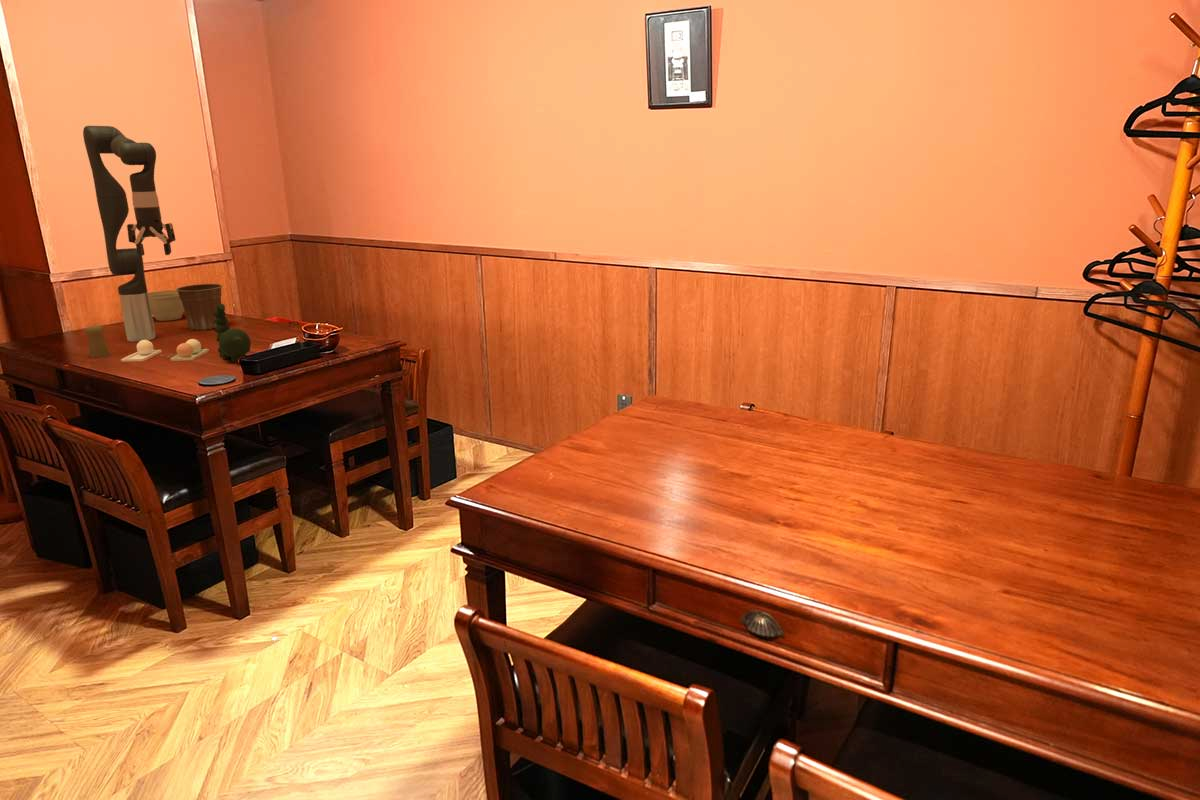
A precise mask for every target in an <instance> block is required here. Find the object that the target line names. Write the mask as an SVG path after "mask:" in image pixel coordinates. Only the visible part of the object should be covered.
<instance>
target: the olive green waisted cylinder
mask: <svg viewBox="0 0 1200 800" xmlns="http://www.w3.org/2000/svg"><path fill="white" fill-rule="evenodd" d="M104 332H105V329H104V327H103V326H102V325H100V324H94V325H93V324H92V325H88V326H87V327H86V328H85V334H86V335H87V336H88V351H89V353H88V354H89V358H90V359H101V358H102V359H103V358H108V357H109V356H110V355H111V354H110V352H109V349H108V346H107V342H106V340H105V338H104V335H103V334H104Z"/></svg>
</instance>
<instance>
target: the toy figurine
mask: <svg viewBox="0 0 1200 800" xmlns="http://www.w3.org/2000/svg"><path fill="white" fill-rule="evenodd" d="M216 309H217V310H216V311H215V312H214V313H213V315H214V316H215V317H216V318H215V319H214V320H213V322H214V323H215V324H216V325H217V326H216V328H215V329H213V331H214V332H215V333H217V334H216V342H218V348H217V352H218V353H219V357H220V358H221V359H223V360H226V361H227V360H228V359H229V358H230V359H231V362H232V363H236V364H240V363H239V362H238V359H239V358H240V357H243V356H245V357H246V355H247V353H249V352H250V351H251V347H252V342H251V341H252V340H251V337H250V336H249V334H247V332H246V331H244V330H242V329H240V328H231V327H230V326H229V324H228V318H227V316H226V307H225V304H224V303H222V302H221V303H220V304H218V305H217V307H216Z"/></svg>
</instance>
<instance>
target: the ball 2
mask: <svg viewBox="0 0 1200 800" xmlns="http://www.w3.org/2000/svg"><path fill="white" fill-rule="evenodd" d="M175 350H176V355H179V356H180V357H182V358H188V357H190V356H191V355H192V354H193V348H192V346H191V345H190V344H188V343H186V342H182V343H179V345H177V347H176V349H175Z"/></svg>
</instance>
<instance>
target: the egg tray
mask: <svg viewBox="0 0 1200 800" xmlns="http://www.w3.org/2000/svg"><path fill="white" fill-rule="evenodd" d="M160 353H162V349H153V351H152V352H151V353H150V354H147V355H144V354H141V353H139V352H138V351H137V352H136V351H135V352H134V353H132V354H129V355H127V356H125V357H123V358H121V359H120V362H123V363H125V362H129V363H130V362H144V361H147V360H149V359H150V358H153V357H154V356H157V355H158V354H160Z"/></svg>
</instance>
